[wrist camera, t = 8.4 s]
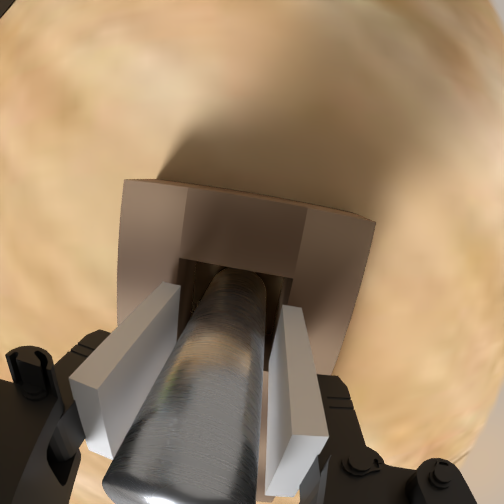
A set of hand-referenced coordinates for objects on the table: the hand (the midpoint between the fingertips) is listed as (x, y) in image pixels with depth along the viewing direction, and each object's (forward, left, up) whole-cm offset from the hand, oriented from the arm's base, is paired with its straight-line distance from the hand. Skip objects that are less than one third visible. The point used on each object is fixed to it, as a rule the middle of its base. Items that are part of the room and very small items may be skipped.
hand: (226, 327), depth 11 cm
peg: (0, 0, -4) cm, 4 cm away
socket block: (+5, 0, -4) cm, 6 cm away
